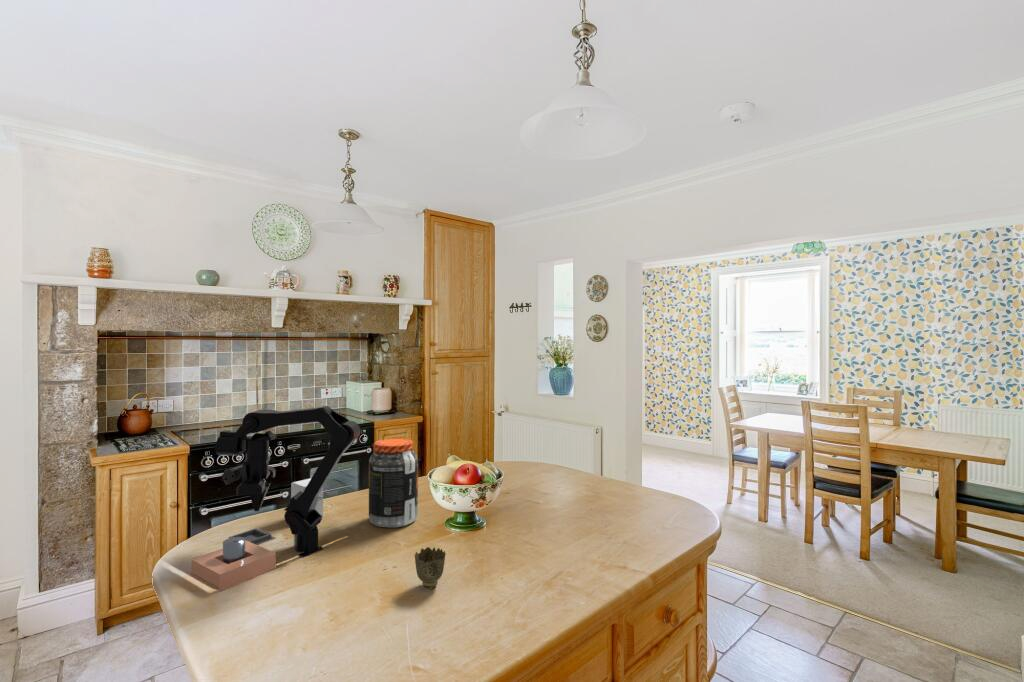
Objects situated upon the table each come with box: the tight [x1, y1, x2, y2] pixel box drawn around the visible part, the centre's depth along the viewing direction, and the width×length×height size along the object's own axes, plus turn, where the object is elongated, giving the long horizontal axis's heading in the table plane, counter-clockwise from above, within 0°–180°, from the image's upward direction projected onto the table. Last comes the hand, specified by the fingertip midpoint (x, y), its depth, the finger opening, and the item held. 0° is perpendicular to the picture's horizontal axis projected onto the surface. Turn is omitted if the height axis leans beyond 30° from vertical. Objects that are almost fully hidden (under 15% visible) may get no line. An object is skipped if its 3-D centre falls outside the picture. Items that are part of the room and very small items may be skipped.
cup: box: [414, 546, 447, 589], centre depth 122 cm, size 8×7×8 cm
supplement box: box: [290, 477, 324, 521], centre depth 164 cm, size 7×7×13 cm
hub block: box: [190, 540, 277, 592], centre depth 128 cm, size 14×14×4 cm
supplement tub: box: [368, 437, 419, 528], centre depth 164 cm, size 16×16×26 cm
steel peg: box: [222, 537, 245, 564], centre depth 128 cm, size 5×5×8 cm
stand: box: [228, 527, 277, 546], centre depth 146 cm, size 10×10×2 cm
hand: (256, 510), depth 141 cm, fingers closed
